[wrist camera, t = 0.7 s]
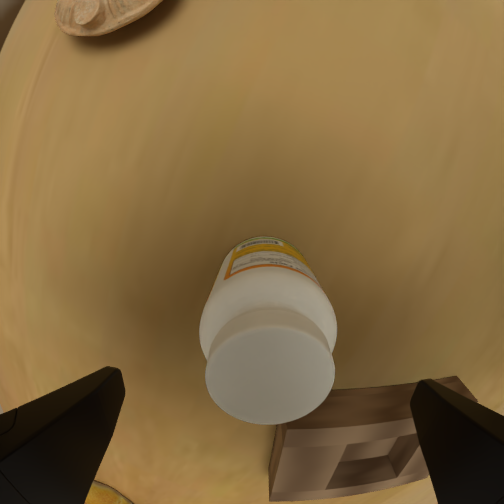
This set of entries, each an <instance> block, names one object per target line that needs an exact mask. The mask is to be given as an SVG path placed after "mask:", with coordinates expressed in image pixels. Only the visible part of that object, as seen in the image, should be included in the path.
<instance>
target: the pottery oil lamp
mask: <svg viewBox="0 0 504 504" xmlns="http://www.w3.org/2000/svg"><path fill="white" fill-rule="evenodd" d="M161 1H163V0H57V4H56V8H55V20H56V23H57V25H58V26H59V28H60V30H61V31H63V32H64V33H66V34H68V35H71V36H100V35H104V34H107V33H110V32H113V31H115V30H117V29H119V28H121V27H124V26H126V25H128V24H130V23H132V22H134V21H136V20H137V19H139V18H141V17H143V16H144V15H146V14H147V13H149V12H150V11H151V10H153V9H154V8H155V7H156V6H157V5H159V4H160V2H161Z"/></svg>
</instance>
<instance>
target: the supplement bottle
mask: <svg viewBox="0 0 504 504" xmlns="http://www.w3.org/2000/svg"><path fill="white" fill-rule="evenodd" d="M199 338H200V344H201V348H202V351H203V353H204V356H205V358H206V360H207V365H206V370H205V381H206V386H207V389H208V392H209V394H210V396H211V397H212V399H213V400H214V402H215V403H216V404H217V405H218V406H219V407H220V408H221V409H222V410H223V411H225V412H226V413H227V414H229V415H231V416H233V417H235V418H237V419H239V420H242V421H245V422H249V423H254V424H263V425H272V424H281V423H286V422H290V421H293V420H296V419H299V418H301V417H303V416H305V415H307V414H308V413H310V412H312V411H313V410H314V409H316V408H317V407H318V406H319V405H320V404H321V403H322V402H323V401H324V400H325V398H326V397H327V396H328V394H329V392H330V391H331V388H332V386H333V383H334V378H335V364H334V361H333V357H332V352H333V349H334V346H335V343H336V338H337V322H336V317H335V313H334V310H333V307H332V305H331V303H330V301H329V299H328V297H327V296H326V294H325V292H324V291H323V289H322V287H321V286H320V284H319V282H318V281H317V279H316V277H315V275H314V274H313V272H312V270H311V268H310V267H309V265H308V263H307V262H306V260H305V259H304V257H303V256H302V254H301V253H300V252H299V251H298V250H297V249H296V248H295V247H294V246H293V245H291V244H290V243H288V242H286V241H284V240H281V239H278V238H274V237H255V238H251V239H248V240H246V241H244V242H242V243H240V244H238V245H237V246H236V247H235V248H233V249H232V250H231V251H230V252H229V254H228V255H227V256H226V258H225V259H224V261H223V263H222V265H221V267H220V270H219V272H218V275H217V277H216V280H215V282H214V285H213V287H212V289H211V292H210V294H209V297H208V299H207V301H206V304H205V306H204V309H203V312H202V316H201V320H200V326H199Z"/></svg>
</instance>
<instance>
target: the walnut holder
mask: <svg viewBox="0 0 504 504" xmlns="http://www.w3.org/2000/svg"><path fill="white" fill-rule="evenodd" d="M434 381H436V382H438V383H440V384H442V385H444V386H446V387H448V388H449V389H451V390H453V391H455V392H457V393H459V394H461V395H463V396H465V397H467V398H469V399H471V400H473V401H475V402H478V401H477V399H476V398H475V397H474V396H473V395H472V393H471V392H470V391H469V390H468V389H467V387H466V386H465V385H464V384H463V383H462V382H461V380H460V379H459V378H458V377H457V376H453V377H448V378H443V379H437V380H434ZM416 386H417V383H411V384H403V385H395V386H385V387H375V388H362V389H346V390H331V391H330V392H329V394H328V396H327V397H326V398H325V400H324V401H323V402H322V403H321V404H320V405H319V406H318V407H317V408H316V409H314V410H313V411H312V412H310V413H308V414H307V415H305V416H303V417H301V418H299V419H296V420H293V421H290V422H286V423H281V424H277V428H276V434H275V439H274V444H273V449H272V455H271V460H270V465H269V501H304V500H317V499H328V498H336V497H344V496H351V495H357V494H363V493H368V492H374V491H378V490H383V489H388V488H392V487H396V486H400V485H404V484H408V483H411V482H415V481H418V480H421V479H425V478H427V477H428V475H429V472H428V469H427V466H426V462H425V460H424V457H423V454H422V451H421V448H420V445H419V441H418V437H417V433H416V429H415V425H414V421H413V417H412V413H411V409H410V399H411V397H412V395H413V392H414V390H415V388H416Z"/></svg>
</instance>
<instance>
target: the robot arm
mask: <svg viewBox="0 0 504 504" xmlns="http://www.w3.org/2000/svg"><path fill="white" fill-rule="evenodd" d="M124 397H125V387H124V382H123V378H122V373H121V371H120V369H118V368H115V367H110V366H106V367H104V368H102V369H100V370H98V371H96V372H94V373H92V374H89V375H87V376H85V377H83V378H81V379H79V380H77V381H75V382H73V383H70V384H68V385H66V386H64V387H62V388H60V389H57V390H55V391H53V392H51V393H49V394H46V395H44V396H42V397H40V398H38V399H35V400H33V401H31V402H28V403H26V404H24V405H22V406H19V407H18V409H17V408H15V409H12V410H10V411H8V412H5V413H3V414H0V504H84V503H85V500H86V498H87V495H88V493H89V490H90V488H91V485H92V483H93V481H94V478H95V476H96V473H97V471H98V468H99V466H100V464H101V461H102V459H103V457H104V454H105V452H106V450H107V448H108V445H109V443H110V441H111V438H112V436H113V433H114V430H115V426H116V423H117V420H118V416H119V413H120V410H121V407H122V404H123V400H124ZM410 409H411V413H412V417H413V421H414V425H415V429H416V433H417V437H418V441H419V445H420V448H421V451H422V454H423V457H424V460H425V462H426V466H427V469H428V472H429V475H430V478H431V481H432V484H433V488H434V491H435V494H436V498H437V501H438V504H504V416H502V415H500V414H498V413H496V412H494V411H492V410H490V409H488V408H486V407H484V406H483V405H481V404H479V403H477V402H475V401H473V400H471V399H469V398H467V397H465V396H463V395H461V394H459V393H457V392H455V391H453V390H451V389H449V388H448V387H446V386H444V385H442V384H440V383H438V382H436V381H434V380H432V379H424V380H420V381H419V382H418V383H417V386H416V388H415V390H414V392H413V395H412V397H411V399H410Z"/></svg>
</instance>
